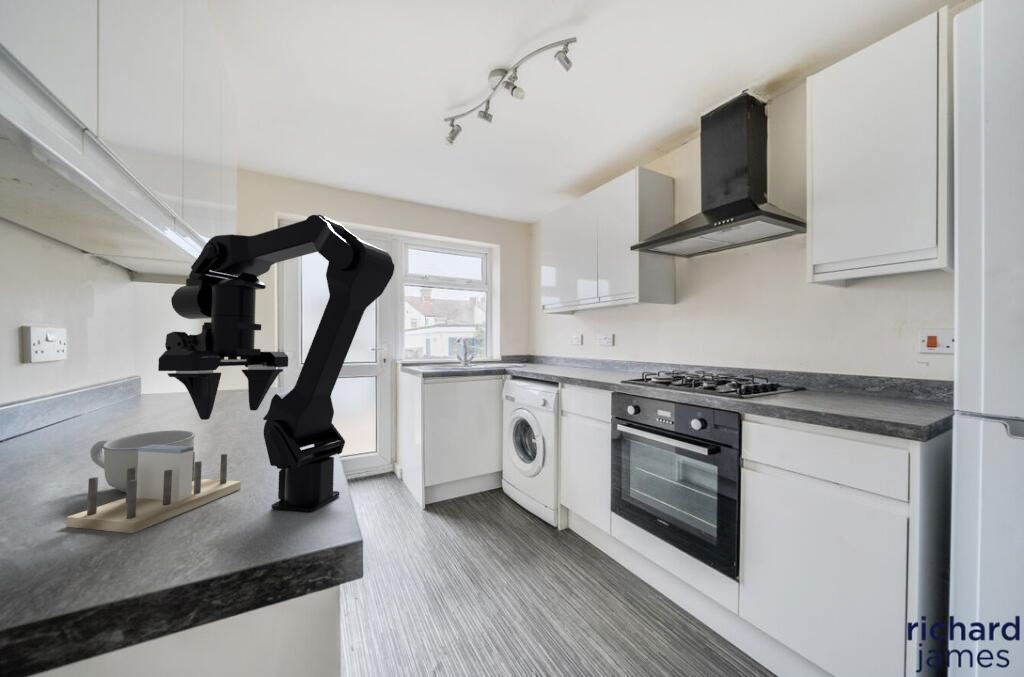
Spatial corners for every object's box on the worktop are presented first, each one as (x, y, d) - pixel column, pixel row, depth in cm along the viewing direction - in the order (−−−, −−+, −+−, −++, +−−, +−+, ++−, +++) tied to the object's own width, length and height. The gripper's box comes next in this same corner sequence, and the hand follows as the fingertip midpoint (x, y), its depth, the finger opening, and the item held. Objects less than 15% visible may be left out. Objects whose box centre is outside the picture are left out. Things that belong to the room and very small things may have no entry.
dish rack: (240, 489, 60) (241, 452, 61) (133, 533, 46) (135, 485, 46) (187, 485, 62) (188, 450, 62) (66, 526, 47) (68, 480, 47)
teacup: (209, 477, 66) (211, 430, 66) (143, 501, 55) (146, 445, 56) (138, 473, 68) (140, 428, 68) (60, 496, 57) (63, 443, 57)
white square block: (191, 496, 54) (193, 446, 54) (178, 501, 52) (180, 449, 53) (150, 492, 55) (152, 444, 56) (135, 497, 53) (138, 447, 54)
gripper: (235, 322, 71) (233, 406, 71) (124, 311, 53) (120, 424, 52) (291, 321, 70) (289, 406, 69) (197, 310, 52) (193, 425, 51)
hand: (231, 414), depth 60 cm, fingers open, 9 cm apart
